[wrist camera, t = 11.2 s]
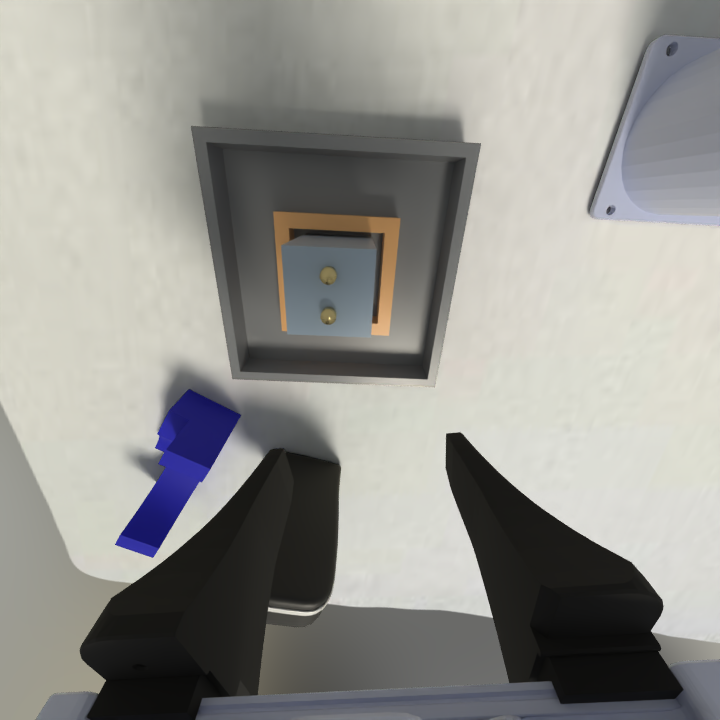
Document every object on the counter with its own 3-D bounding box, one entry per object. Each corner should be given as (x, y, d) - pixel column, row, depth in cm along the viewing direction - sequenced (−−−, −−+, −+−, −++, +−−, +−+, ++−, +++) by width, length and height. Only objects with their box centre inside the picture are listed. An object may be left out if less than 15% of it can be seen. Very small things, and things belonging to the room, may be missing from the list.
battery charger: (262, 475, 28) (207, 625, 18) (268, 445, 27) (212, 592, 17) (333, 490, 29) (320, 641, 19) (344, 462, 28) (335, 611, 17)
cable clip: (190, 388, 24) (142, 439, 19) (241, 413, 25) (210, 469, 20) (144, 476, 29) (94, 537, 23) (190, 494, 30) (153, 557, 24)
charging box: (464, 151, 17) (481, 143, 15) (427, 369, 23) (434, 387, 21) (213, 136, 17) (191, 125, 14) (244, 362, 23) (232, 378, 21)
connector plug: (371, 236, 18) (377, 251, 12) (367, 300, 20) (371, 341, 14) (305, 233, 18) (278, 246, 12) (308, 297, 20) (285, 338, 14)
